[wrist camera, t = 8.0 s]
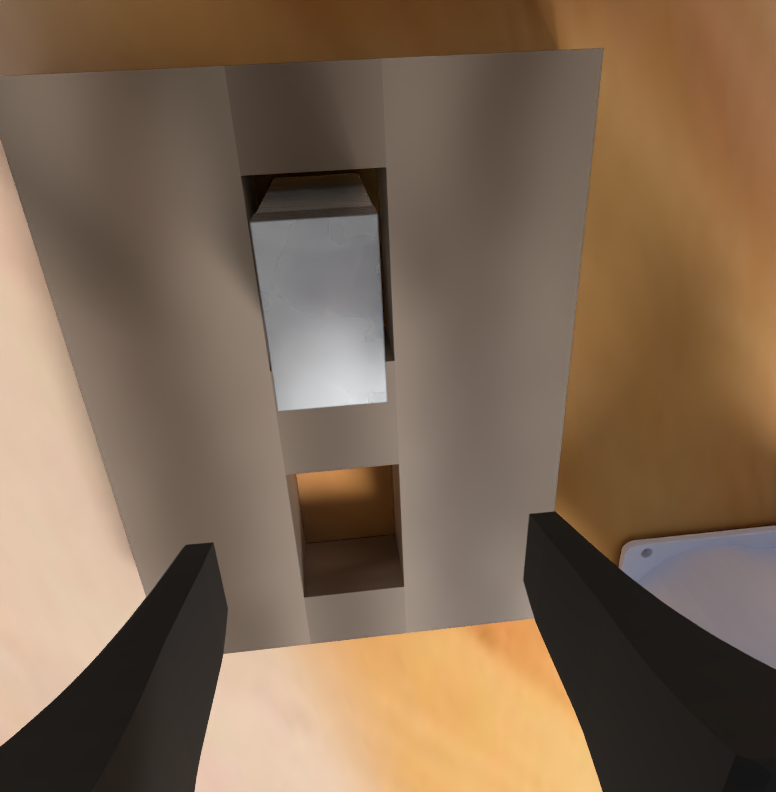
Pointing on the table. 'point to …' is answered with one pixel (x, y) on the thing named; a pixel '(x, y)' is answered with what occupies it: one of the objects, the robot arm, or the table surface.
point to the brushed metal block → (321, 291)
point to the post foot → (245, 329)
